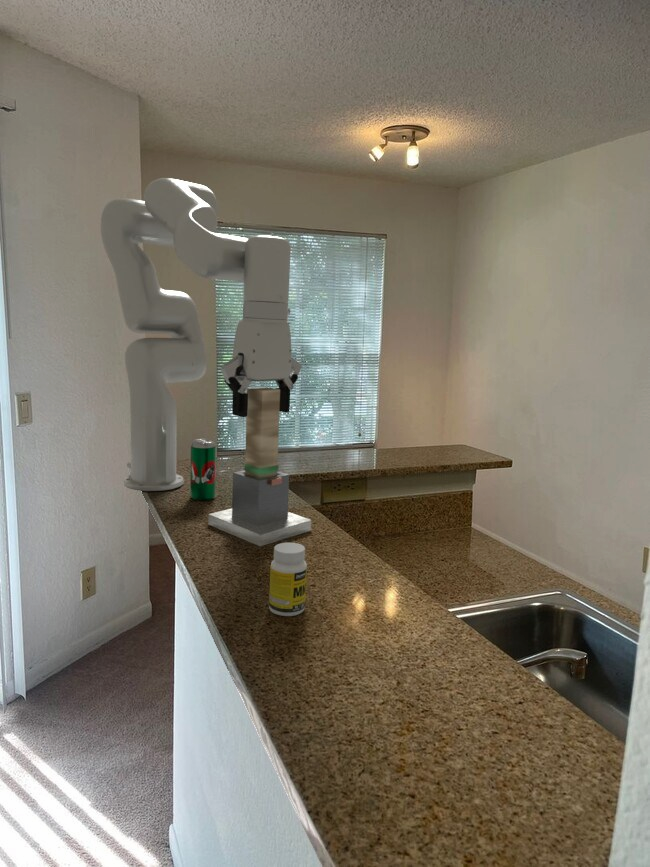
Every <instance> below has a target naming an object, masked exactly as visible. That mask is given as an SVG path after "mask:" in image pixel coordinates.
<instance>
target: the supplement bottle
mask: <svg viewBox="0 0 650 867" xmlns="http://www.w3.org/2000/svg"><path fill="white" fill-rule="evenodd" d="M305 559H306V547H305V546H304V545H303V544H300V543H297V542H281V543H278V544H276V545H275V546H274V547H273V560H272V561H271V564H270V567H269V568H270V574H269V596H268V597H269V598H268V609H269V610H270V612H272V613H273V614H275V615H276V616H277V615H278V616H283V617H295V616H297V615H300V614H302V613H303V612H305V609H306V595H307V578H308V577H307V572H308V564H307V562H306V560H305Z"/></svg>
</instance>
